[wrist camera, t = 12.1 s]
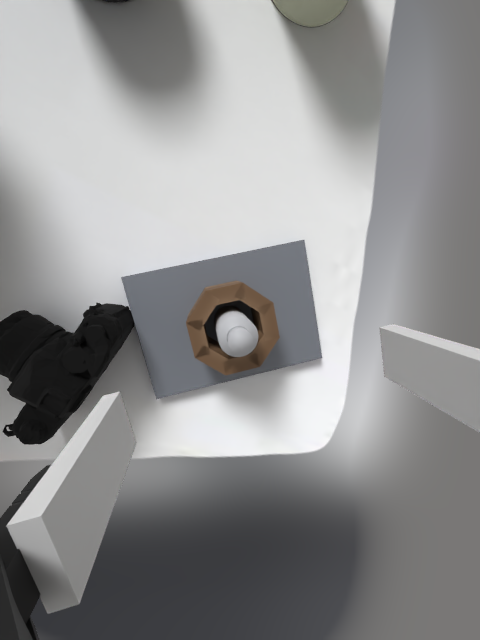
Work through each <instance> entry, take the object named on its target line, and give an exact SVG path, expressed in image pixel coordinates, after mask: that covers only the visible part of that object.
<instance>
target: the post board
mask: <svg viewBox="0 0 480 640" xmlns="http://www.w3.org/2000/svg"><path fill="white" fill-rule="evenodd" d="M121 278H122V282H123V285H124V288H125V292H126V295H127V299H128V302H129V306H130V309H131V313H132V316H133V320H134V323H135V327H136V330H137V333H138V337H139V340H140V344H141V347H142V351H143V354H144V358H145V361H146V365H147V368H148V371H149V375H150V378H151V382H152V385H153V389H154V392H155V396H156V399H159V398H163V397H167V396H171V395H175V394H179V393H183V392H187V391H191V390H195V389H199V388H203V387H207V386H211V385H215V384H219V383H223V382H227V381H231V380H235V379H239V378H243V377H247V376H251V375H255V374H259V373H263V372H267V371H271V370H275V369H279V368H283V367H287V366H291V365H295V364H299V363H303V362H307V361H311V360H315V359H319V358H322V354H321V348H320V341H319V334H318V328H317V321H316V314H315V308H314V301H313V295H312V288H311V281H310V275H309V268H308V261H307V255H306V248H305V241H304V240H301V241H296V242H291V243H286V244H281V245H276V246H271V247H267V248H262V249H257V250H252V251H247V252H242V253H237V254H233V255H228V256H223V257H218V258H213V259H208V260H203V261H198V262H194V263H189V264H184V265H179V266H174V267H169V268H164V269H160V270H155V271H150V272H145V273H140V274H135V275H130V276H125V277H121ZM232 281H239V282H243V283H244V284H246V285H247V286H249V287H250V288H252V289H253V290H255V291H256V292H258V293H260V294H261V295H263V296H264V297H266V298H267V299H269V300H270V301H272V302H273V303H274V309H275V314H276V320H277V325H278V330H279V336H280V338H279V339H278V341H277V342H276V344H275V345H274V347H273V348H272V350H271V351H270V353H269V354H268V356H267V357H266V359H265V360H264V362H263V363H262V365H261V366H260V367H258V368H254V369H250V370H246V371H242V372H238V373H234V374H230V375H224V374H222V373H220V372H219V371H217V370H215V369H213V368H212V367H210V366H208V365H206V364H204V363H203V362H201V361H199V360H197V359H196V358H195V357H194V353H193V349H192V345H191V341H190V337H189V333H188V329H187V326H186V320H187V317H188V314H189V312H190V311H191V309H192V308H193V306H194V304H195V303H196V301H197V300H198V298H199V296H200V295H201V293H202V292H203V290H204V288H205V287H209V286H214V285H218V284H223V283H227V282H232ZM205 327H206V331H207V335H208V336H209V337H211V338H212V339H214V340H216V341H217V342H219V345H220V347H221V349H222V350H223V351H224V352H225V353H226V354H228V355H230V356H233V357H243V356H246V355H248V354H249V353H251V352H252V351H253V350H254V348H255V347H256V345H257V342H258V331H257V329H256V327H255V325H254V321H253V317H252V312H251V307H250V306H248V305H247V304H245V303H244V302H242V301H241V300H237V301H233V302H228V303H224V304H220V305H216V306H215V308H214V310H213V311H212V313H211V314H210V316H209V317H208V319H207V321H206V322H205Z"/></svg>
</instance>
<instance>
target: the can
mask: <svg viewBox="0 0 480 640" xmlns="http://www.w3.org/2000/svg"><path fill="white" fill-rule="evenodd" d="M272 1H273V2H274V4H275V6H276V7H277V8H278V10H279V11H280V12H281V13H282V14H283V15H284V16H285V17H286V18H288V19H289V20H291V21H292V22H294V23H296V24H299V25H302V26H306V27H316V26H321V25H324V24H326V23H329V22H330V21H332V20H333V19H334V18H336V17H337V16H338V15H339V14H340V13H341V11H342V10H343V9H344V7H345V6H346V4H347V2H348V0H272Z"/></svg>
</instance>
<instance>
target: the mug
mask: <svg viewBox="0 0 480 640" xmlns="http://www.w3.org/2000/svg"><path fill="white" fill-rule="evenodd" d="M103 1H108V2H123V1H127V0H103Z"/></svg>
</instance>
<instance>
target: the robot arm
mask: <svg viewBox="0 0 480 640" xmlns="http://www.w3.org/2000/svg"><path fill="white" fill-rule="evenodd" d="M380 337H381V348H382V358H383V368H384V377H386V378H388V379H389V380H391V381H393V382H394V383H396V384H398V385H399V386H401V387H403V388H405V389H406V390H408V391H410V392H411V393H413V394H415V395H416V396H418V397H420V398H422V399H423V400H425V401H427V402H429V403H430V404H432V405H433V406H435V407H437V408H439V409H440V410H442V411H444V412H445V413H447V414H449V415H450V416H452V417H454V418H456V419H457V420H459V421H461V422H462V423H464V424H466V425H467V426H469V427H471V428H472V429H474V430H476V431H478V432H479V433H480V349H477V348H473V347H470V346H467V345H463V344H460V343H456V342H453V341H449V340H446V339H442V338H439V337H436V336H432V335H429V334H425V333H422V332H419V331H415V330H412V329H408V328H405V327H401V326H398V325H395V324H391V325H387V326H383V327H380ZM135 445H136V440H135V437H134V433H133V430H132V427H131V424H130V421H129V418H128V415H127V412H126V409H125V405H124V402H123V399H122V396H121V393H120V392H116V393H112V394H107V395H103V396H102V398H101V399H100V401H99V402H98V403H97V405H96V406H95V407H94V409H93V410H92V411H91V413H90V414H89V415H88V417H87V418H86V419H85V421H84V422H83V423H82V425H81V426H80V427H79V429H78V430H77V431H76V433H75V434H74V435H73V437H72V438H71V439H70V441H69V442H68V443H67V445H66V446H65V448H64V449H63V450H62V452H61V453H60V454H59V456H58V457H57V458H56V460H55V461H54V462H53V464H52V465H49V466H46V467H45V468H44V469H42V470H41V471H40V472H39V473H38V474H36V475H35V476H34V477H33V478H32V479H31V480H30V481H29V482H28V484H27V485H26V486H25V488H24V489H23V490H22V491H21V494H19V495H18V496H17V498H16V499H15V500H14V501H13V503H12V506H9V508H8V509H7V510H6V512H5V513H4V514H3V515H2V517H1V518H0V640H39V638H38V634H37V631H36V628H35V625H34V623H33V621H32V619H31V617H30V615H31V613H32V611H33V609H34V607H35V605H36V603H37V600H38V599H39V597H40V599H41V601H42V603H43V605H44V607H45V609H46V611H47V613H48V614H50V613H53V612H56V611H59V610H62V609H65V608H68V607H72V606H75V605H78V604H79V603H80V601H81V598H82V595H83V592H84V589H85V587H86V584H87V581H88V578H89V575H90V572H91V569H92V567H93V564H94V561H95V558H96V555H97V553H98V550H99V547H100V544H101V541H102V538H103V536H104V533H105V530H106V527H107V524H108V522H109V519H110V516H111V513H112V510H113V507H114V505H115V502H116V499H117V496H118V493H119V491H120V488H121V485H122V482H123V479H124V476H125V474H126V471H127V468H128V465H129V462H130V460H131V457H132V454H133V451H134V448H135Z"/></svg>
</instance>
